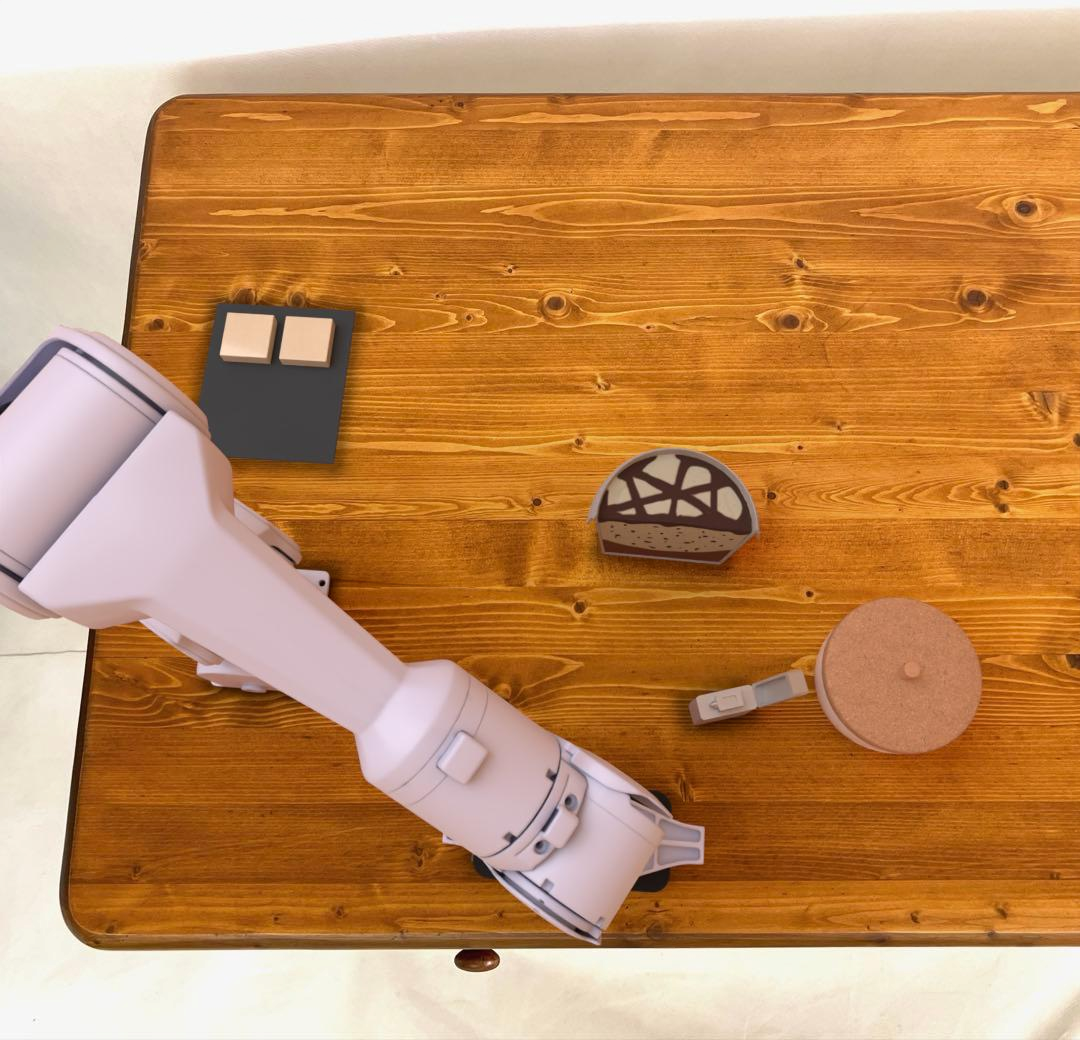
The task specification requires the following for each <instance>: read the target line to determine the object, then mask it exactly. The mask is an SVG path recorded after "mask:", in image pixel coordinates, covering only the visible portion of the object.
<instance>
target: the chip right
mask: <svg viewBox="0 0 1080 1040" xmlns="http://www.w3.org/2000/svg"><path fill="white" fill-rule="evenodd" d="M334 332H335V323H334V321H333V319H327V318H310V317H293V316H286V320H285V326H284V332H283V338H282V344H281V350H280V356H279V359H280V361H281V363H282V364H283V365H297V366H313V367H329V365H330V359H331V352H332V345H333V339H334Z"/></svg>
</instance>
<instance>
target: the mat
mask: <svg viewBox="0 0 1080 1040" xmlns="http://www.w3.org/2000/svg"><path fill="white" fill-rule="evenodd" d="M216 303H217V304H216V310H215V315H214V320H213V325H212V329H211V335H210V341H209V346H208V351H207V357H206V361H205V368H204V372H203V377H202V383H201V389H200V394H199V399H198V404H197V406H198V407H199V408H200V409H201V411H202V412H203V413H204V414H205V416H206V417H207V421H208V428H209V429H208V431H209V432H210V434H211V439H210V441H211V442H212V443H213V444H214V445H215V446H216V447H217V448H218V449H219V450H220V451H221V452H222V453H223V454H224V455H225V456H226V458H232V459H248V460H264V461H278V462H280V461H281V462H295V463H311V464H326V465H334V463H335V458H336V451H337V443H338V436H339V430H340V422H341V417H342V415H341V414H342V408H343V402H344V395H345V388H346V382H347V375H348V374H347V373H348V366H349V360H350V353H351V346H352V339H353V332H354V325H355V318H356V310H347V309H332V308H317V307H316V308H313V307H298V306H297V307H296V306H283V305H282V306H280V305H263V304H262V305H261V304H247V303H246V304H245V303H229V302H216ZM227 313H244V314H261V315H274V316H275V318H276V320H277V328H276V334H275V340H274V346H273V352H272V358H271V363H270V364H262V363H246V362H229V361H224V360H223V359H222V358H221V356H220V350H221V345H222V340H223V334H224V329H225V323H226V318H227ZM286 316H293V317H310V318H327V319H333V321H334V323H335V332H334V339H333V345H332V352H331V359H330V365H329V367H313V366H297V365H283V364H282V363H281V361H280V359H279V356H280V350H281V344H282V338H283V332H284V326H285V320H286Z"/></svg>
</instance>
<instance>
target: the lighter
mask: <svg viewBox="0 0 1080 1040" xmlns="http://www.w3.org/2000/svg"><path fill="white" fill-rule="evenodd" d="M808 694H809V688H808V684H807V681H806V678H805V674H804V671H803V670H802V669H795V670H789V671H785V672H782V673H778V674H776V675H773V676H770V677H767V678H765V679H762V680H759V681H756V682H752V685H750V684H746V685H741V686H737V687H732V688H727V689H724V690H718V691H714V692H709V693H705V694H700V695H698V696H696V697H695V698H694V699H692V700H691V701H690V702H689V704H688V710H689V714H690V717H691V721H692V722H691V723H692V724H693V725H694V726H700V725H704V724H709V723H713V722H714V723H715V722H718V721H723V720H727V719H731V718H732V719H733V718H736V717H740V716H745V715H747V714H748V713H750V712H752V711H754V710H756V709H757V707H758V708H759V709H760V708H766V707H771V706H775V705H778V704H781V703H784V702H787V701H791V700H794V699H797V698H800V697H803V696H806V695H808Z"/></svg>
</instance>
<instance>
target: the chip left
mask: <svg viewBox="0 0 1080 1040" xmlns="http://www.w3.org/2000/svg"><path fill="white" fill-rule="evenodd" d="M276 328H277V320H276V318H275V316H274V315H261V314H244V313H227V318H226V323H225V329H224V334H223V340H222V345H221V350H220V356H221V358H222V359H223V360H224V361H229V362H246V363H262V364H270V363H271V358H272V352H273V346H274V340H275V334H276Z"/></svg>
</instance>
